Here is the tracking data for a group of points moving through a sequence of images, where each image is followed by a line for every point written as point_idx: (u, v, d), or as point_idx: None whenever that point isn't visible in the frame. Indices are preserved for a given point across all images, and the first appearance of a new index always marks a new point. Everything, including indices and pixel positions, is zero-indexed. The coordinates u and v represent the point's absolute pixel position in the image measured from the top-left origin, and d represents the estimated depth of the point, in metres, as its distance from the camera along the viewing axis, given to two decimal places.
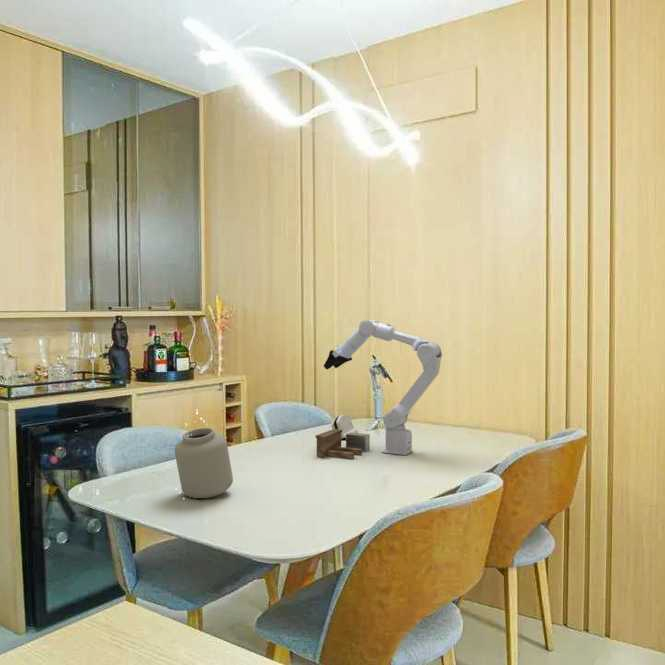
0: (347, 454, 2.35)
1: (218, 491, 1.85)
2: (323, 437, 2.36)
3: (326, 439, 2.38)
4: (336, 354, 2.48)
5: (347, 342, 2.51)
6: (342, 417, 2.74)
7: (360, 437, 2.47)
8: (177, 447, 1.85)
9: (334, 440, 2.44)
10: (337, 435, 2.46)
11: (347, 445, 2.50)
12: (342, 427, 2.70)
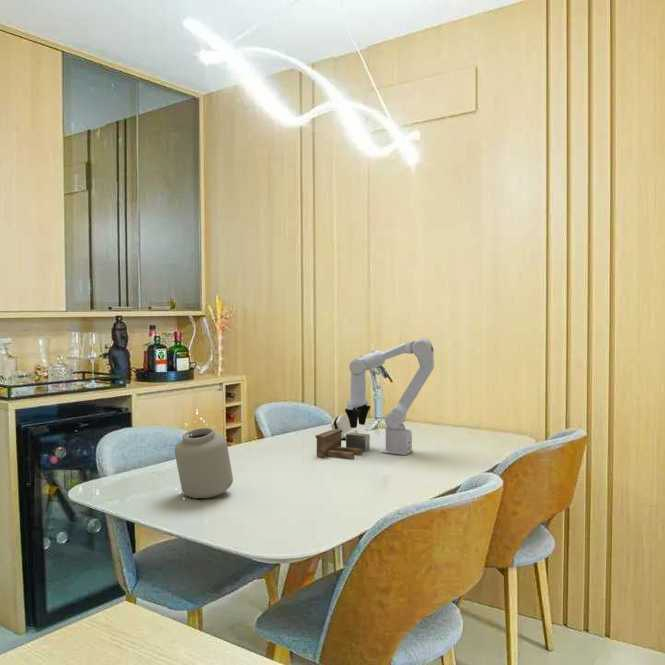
0: (347, 454, 2.35)
1: (218, 491, 1.85)
2: (323, 437, 2.36)
3: (326, 439, 2.38)
4: (350, 406, 2.43)
5: (352, 392, 2.48)
6: (342, 417, 2.74)
7: (360, 437, 2.47)
8: (177, 447, 1.85)
9: (334, 440, 2.44)
10: (337, 435, 2.46)
11: (347, 445, 2.50)
12: (342, 427, 2.70)
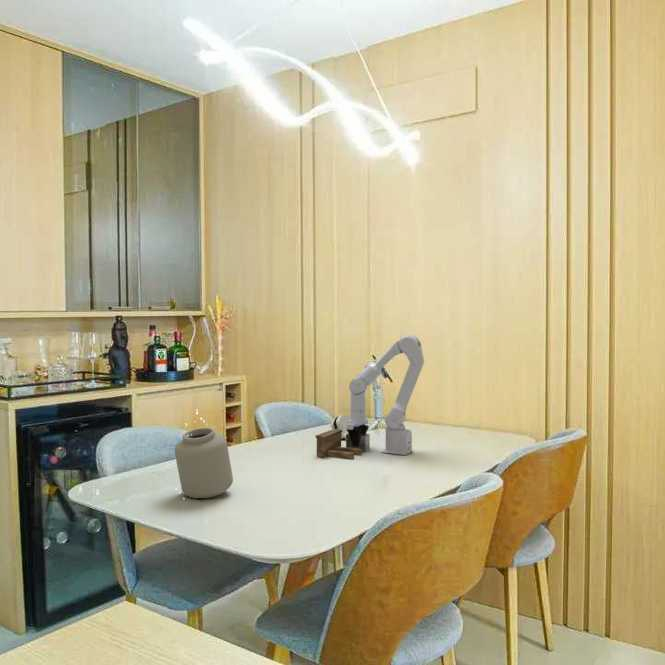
0: (347, 454, 2.35)
1: (218, 491, 1.85)
2: (323, 437, 2.36)
3: (326, 439, 2.38)
4: (350, 426, 2.43)
5: (352, 411, 2.48)
6: (342, 417, 2.74)
7: (360, 437, 2.47)
8: (177, 447, 1.85)
9: (334, 440, 2.44)
10: (337, 435, 2.46)
11: (347, 445, 2.50)
12: (342, 427, 2.70)
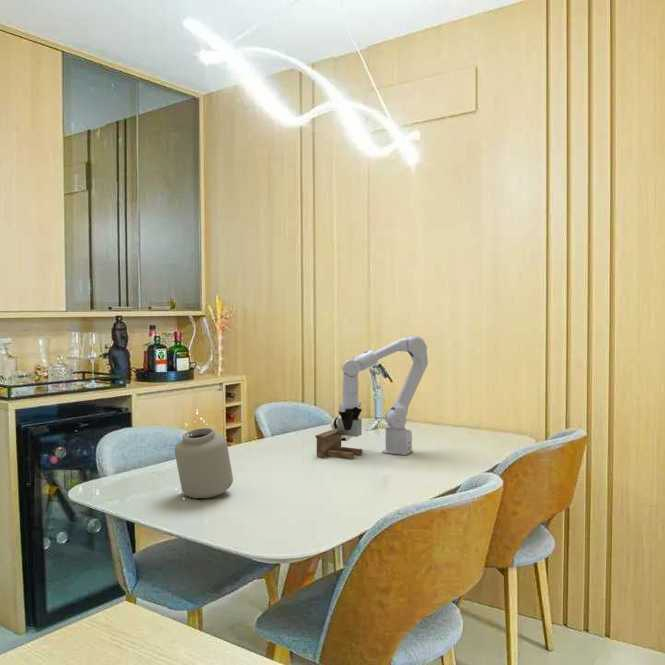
0: (347, 454, 2.35)
1: (218, 491, 1.85)
2: (323, 437, 2.36)
3: (326, 439, 2.38)
4: (342, 408, 2.38)
5: (344, 393, 2.42)
6: None
7: (352, 421, 2.42)
8: (177, 447, 1.85)
9: (334, 440, 2.44)
10: (337, 435, 2.46)
11: (338, 430, 2.45)
12: None
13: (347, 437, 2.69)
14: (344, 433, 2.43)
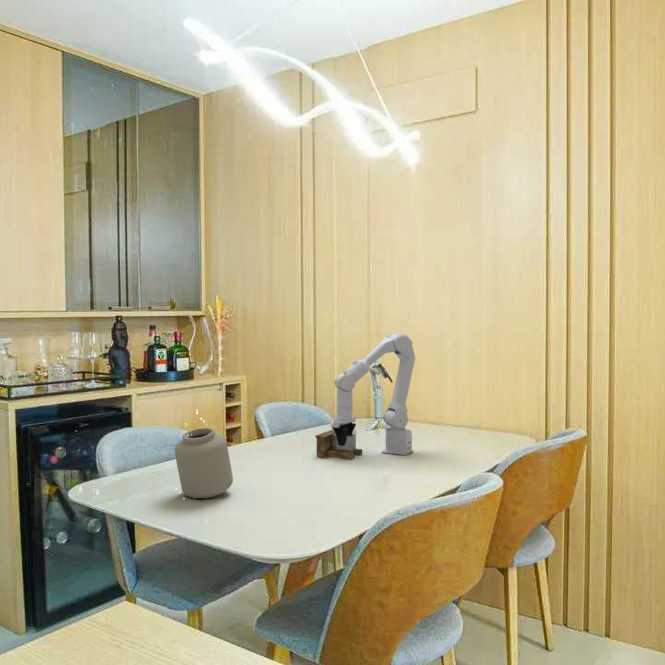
0: (347, 454, 2.35)
1: (218, 491, 1.85)
2: (323, 437, 2.36)
3: (326, 439, 2.38)
4: (336, 424, 2.33)
5: (338, 409, 2.38)
6: None
7: (346, 437, 2.38)
8: (177, 447, 1.85)
9: None
10: None
11: (332, 446, 2.40)
12: None
13: None
14: (338, 449, 2.39)
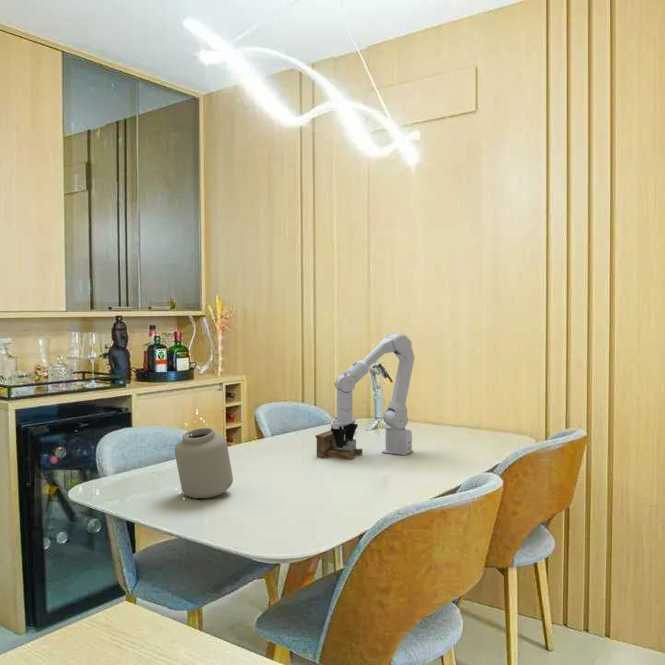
0: (347, 454, 2.35)
1: (218, 491, 1.85)
2: (323, 437, 2.36)
3: (326, 439, 2.38)
4: (336, 425, 2.33)
5: (338, 410, 2.38)
6: None
7: (346, 442, 2.38)
8: (177, 447, 1.85)
9: None
10: None
11: (333, 450, 2.40)
12: (342, 427, 2.70)
13: None
14: None
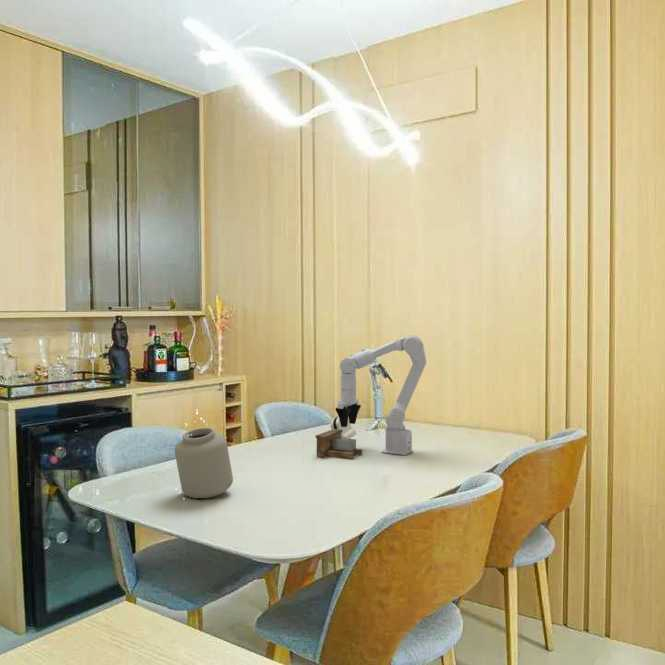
0: (347, 454, 2.35)
1: (218, 491, 1.85)
2: (323, 437, 2.36)
3: (326, 439, 2.38)
4: (341, 405, 2.43)
5: (342, 391, 2.47)
6: None
7: (346, 442, 2.38)
8: (177, 447, 1.85)
9: None
10: (337, 435, 2.46)
11: (333, 450, 2.40)
12: (341, 427, 2.69)
13: (347, 437, 2.68)
14: None
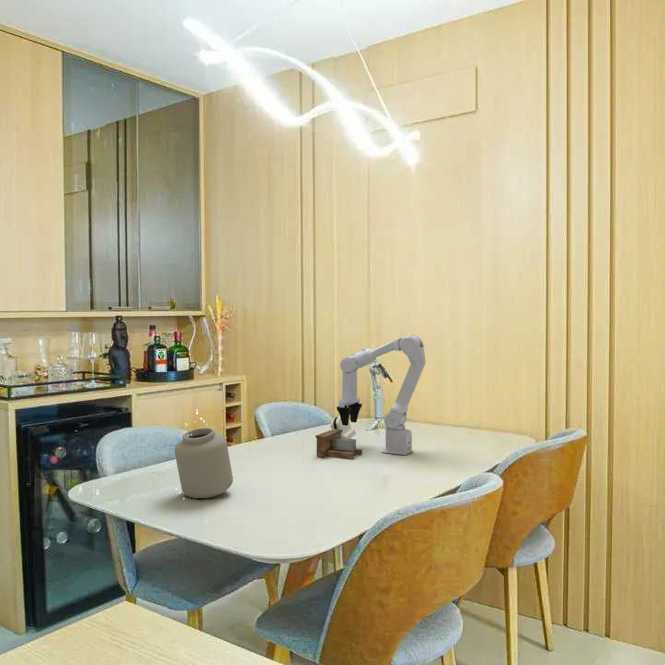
0: (347, 454, 2.35)
1: (218, 491, 1.85)
2: (323, 437, 2.36)
3: (326, 439, 2.38)
4: (342, 404, 2.46)
5: (344, 390, 2.50)
6: None
7: (346, 442, 2.38)
8: (177, 447, 1.85)
9: None
10: (337, 435, 2.46)
11: (333, 450, 2.40)
12: (341, 428, 2.69)
13: (347, 437, 2.68)
14: None
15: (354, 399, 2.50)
